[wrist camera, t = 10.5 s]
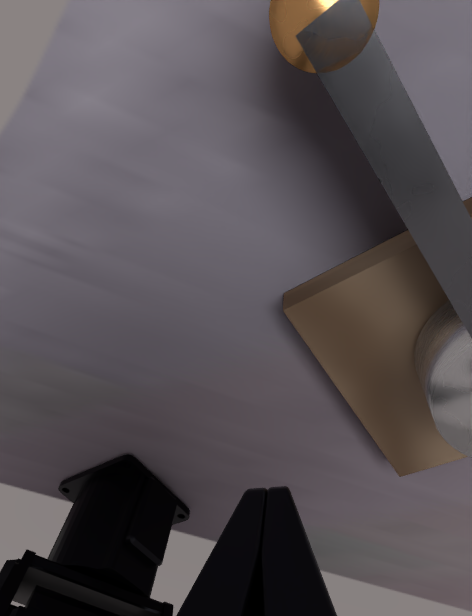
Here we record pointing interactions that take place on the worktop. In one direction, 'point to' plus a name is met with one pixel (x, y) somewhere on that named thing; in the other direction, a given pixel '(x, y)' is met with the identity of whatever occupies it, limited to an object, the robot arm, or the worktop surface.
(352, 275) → the block
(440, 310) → the amber-knobbed lever
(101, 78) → the worktop surface
